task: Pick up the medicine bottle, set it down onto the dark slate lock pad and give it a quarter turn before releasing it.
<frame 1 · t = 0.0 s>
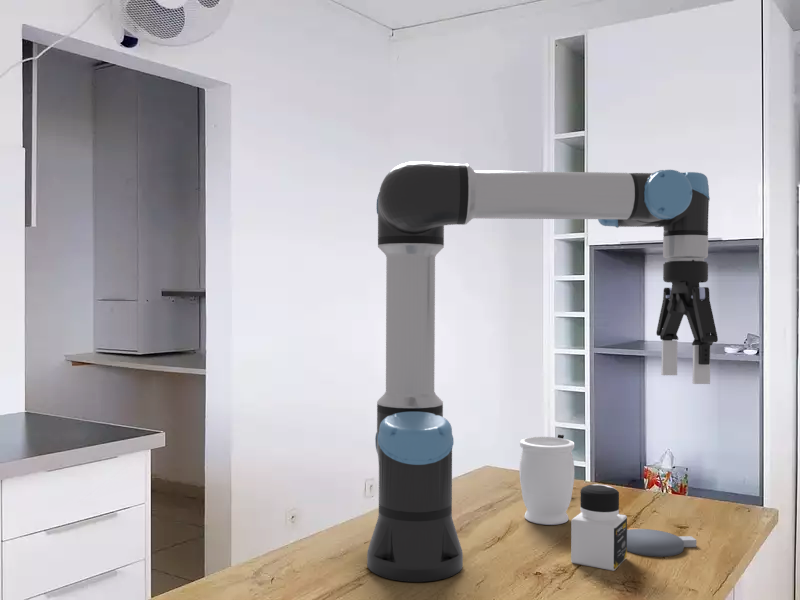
hand: (684, 379, 138), 28 cm above the countertop, fingers open, 13 cm apart
jar: (546, 520, 148), on the countertop
medicine bottle: (599, 562, 125), on the countertop
lock pad: (649, 545, 133), on the countertop
cocoa: (546, 493, 168), on the countertop
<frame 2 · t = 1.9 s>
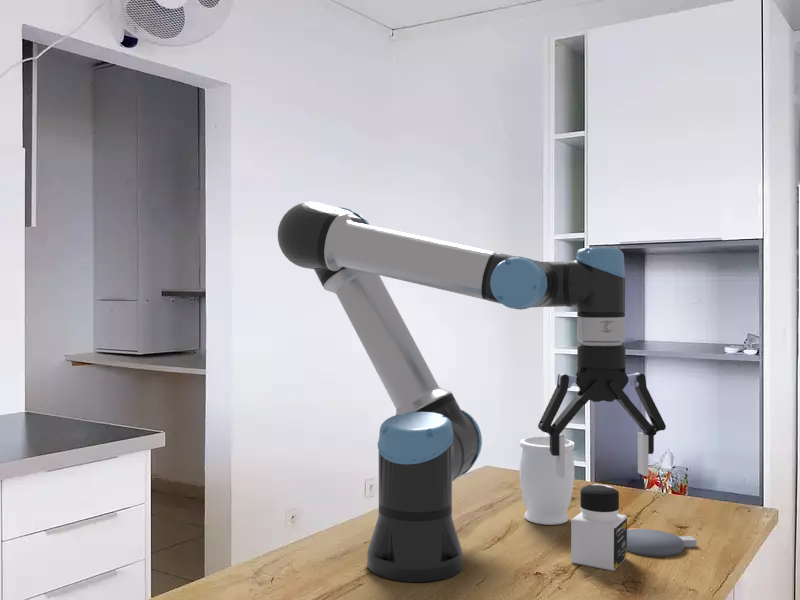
hand: (601, 475, 125), 14 cm above the countertop, fingers open, 13 cm apart
nothing on the countertop moved.
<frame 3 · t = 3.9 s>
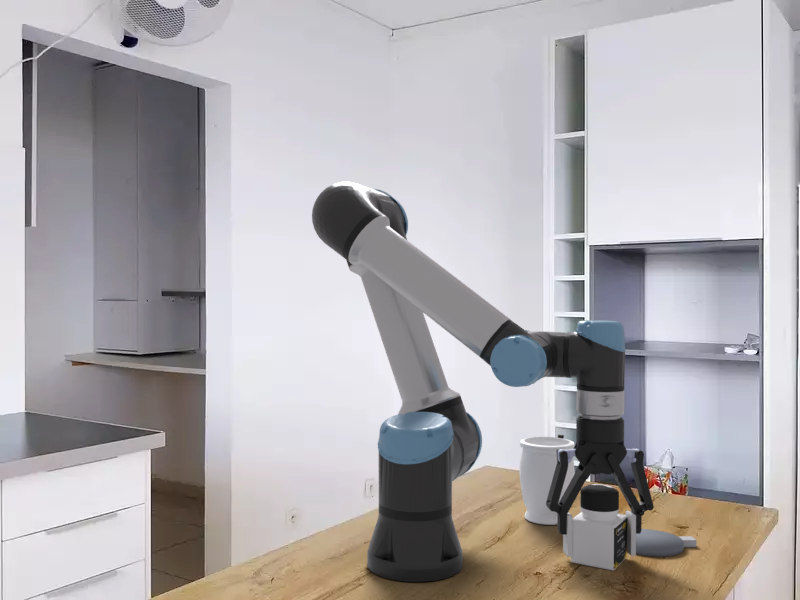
hand: (599, 553, 125), 1 cm above the countertop, fingers closed on medicine bottle, 10 cm apart
medicine bottle: (599, 561, 125), on the countertop, touching gripper
everything else where it was.
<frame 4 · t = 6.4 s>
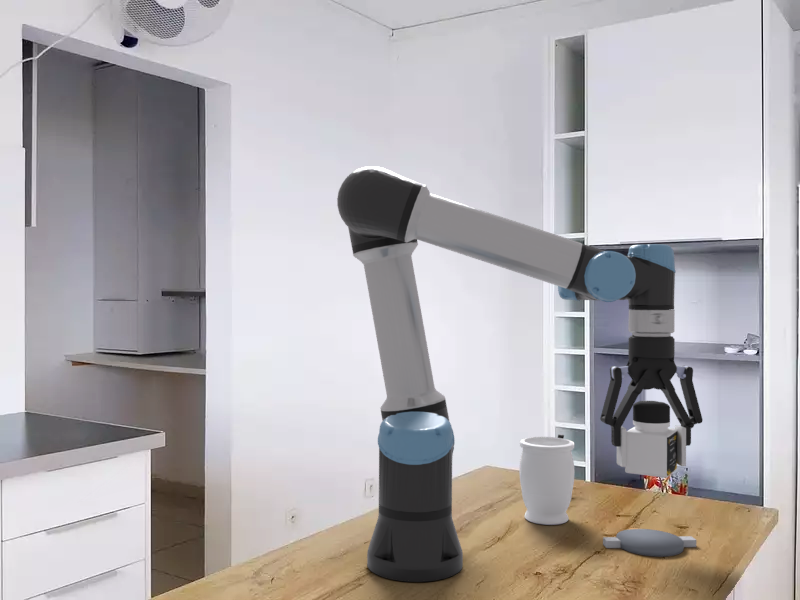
hand: (651, 464, 132), 14 cm above the countertop, fingers closed on medicine bottle, 10 cm apart
medicine bottle: (651, 472, 132), point 13 cm above the countertop, touching gripper
everything else where it was.
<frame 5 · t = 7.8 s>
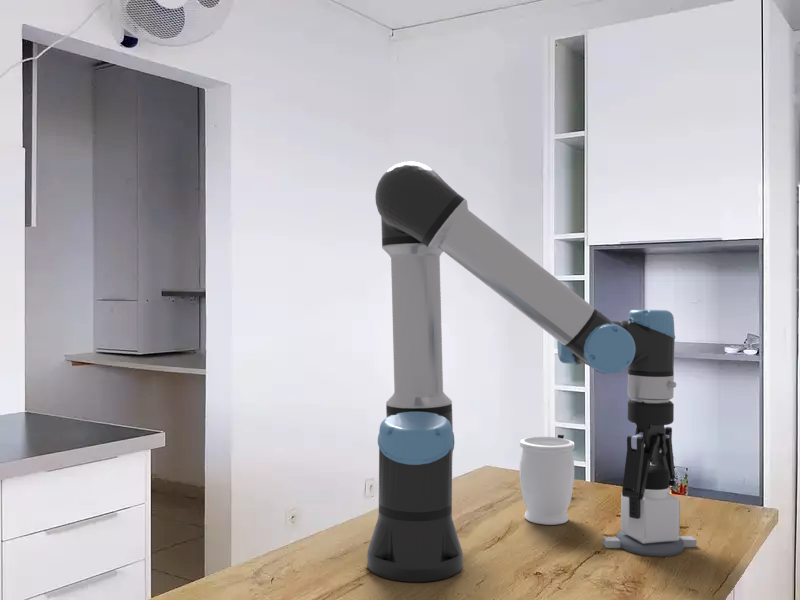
hand: (649, 529, 133), 3 cm above the countertop, fingers closed on medicine bottle, 10 cm apart
medicine bottle: (649, 537, 132), point 1 cm above the countertop, touching gripper
everything else where it was.
when the fingers open (3 cm above the countertop, at t = 9.1 s): medicine bottle stays where it is, resting on lock pad.
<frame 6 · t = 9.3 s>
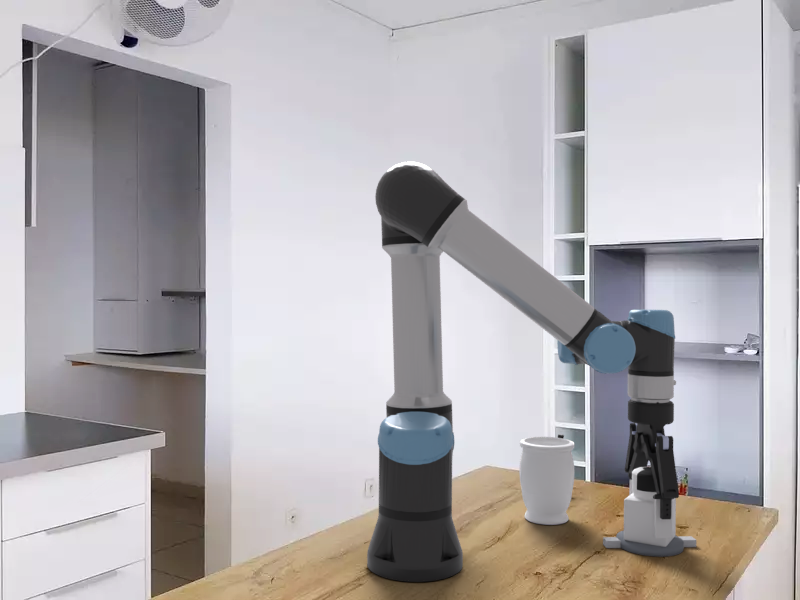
hand: (649, 526, 133), 3 cm above the countertop, fingers open, 11 cm apart
medicine bottle: (649, 539, 133), point 1 cm above the countertop, touching lock pad
everything else where it was.
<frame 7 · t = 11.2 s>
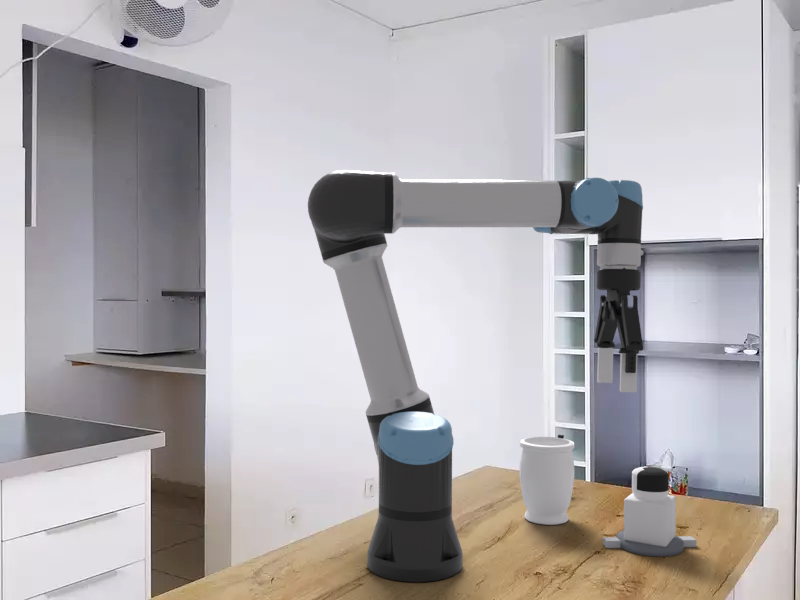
hand: (615, 387, 138), 27 cm above the countertop, fingers open, 13 cm apart
nothing on the countertop moved.
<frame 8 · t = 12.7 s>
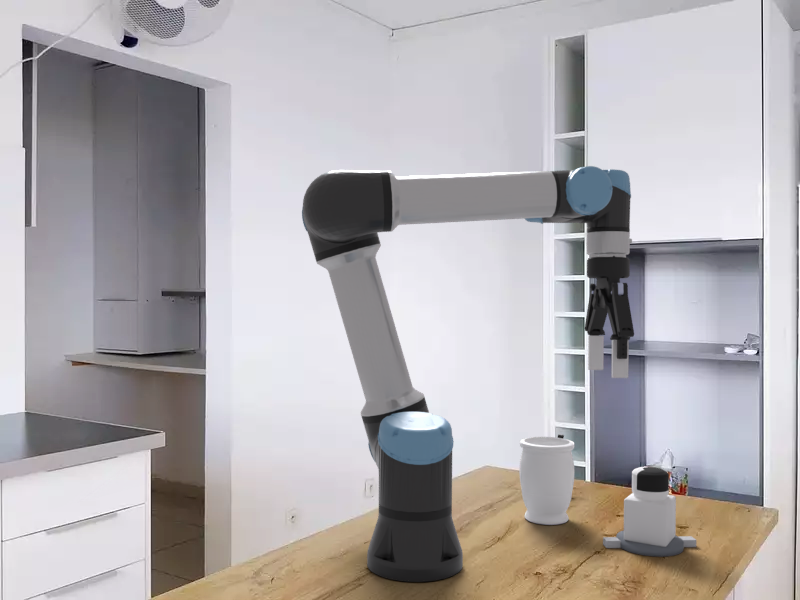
hand: (607, 373, 140), 29 cm above the countertop, fingers open, 13 cm apart
nothing on the countertop moved.
at the end: medicine bottle 0.0 cm from the lock pad (horizontally); medicine bottle tilted 0°; the gripper is holding nothing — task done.
